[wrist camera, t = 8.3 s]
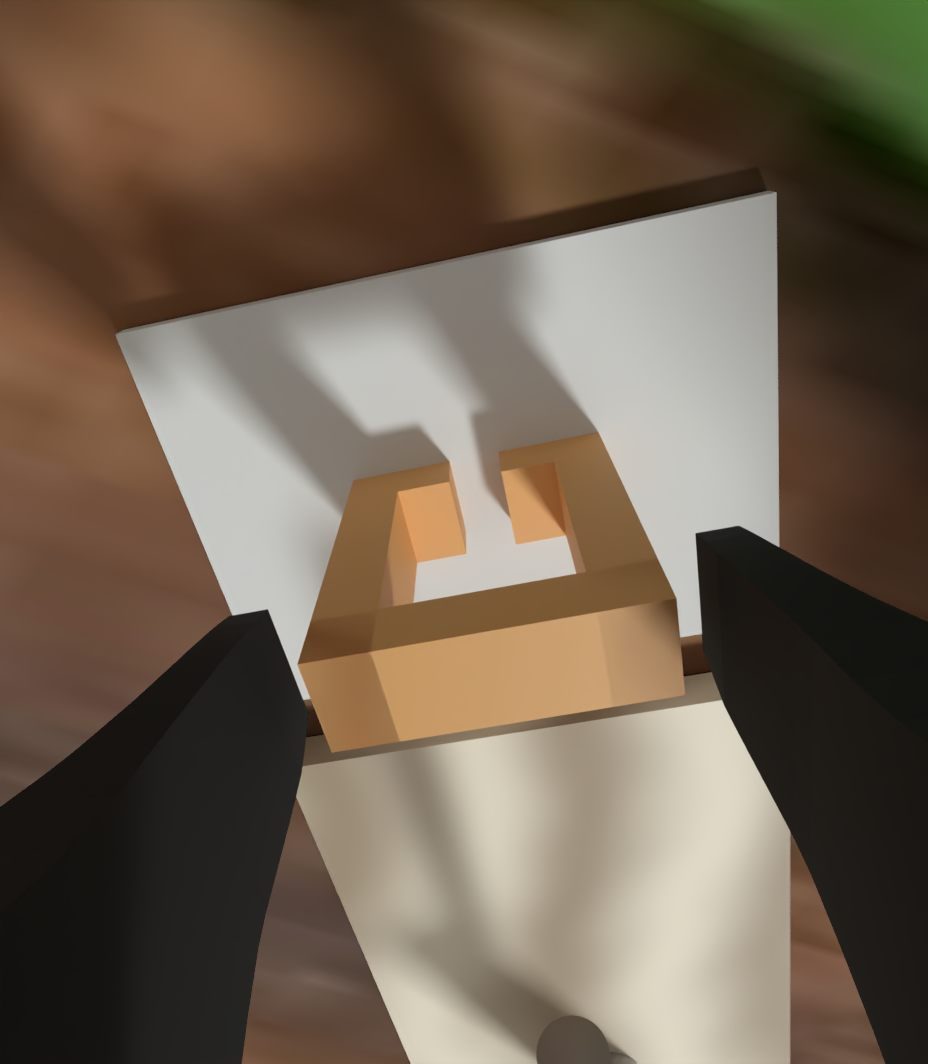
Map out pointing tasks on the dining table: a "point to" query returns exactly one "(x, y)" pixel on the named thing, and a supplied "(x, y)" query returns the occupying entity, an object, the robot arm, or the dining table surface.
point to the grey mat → (480, 401)
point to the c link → (489, 607)
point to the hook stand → (567, 886)
